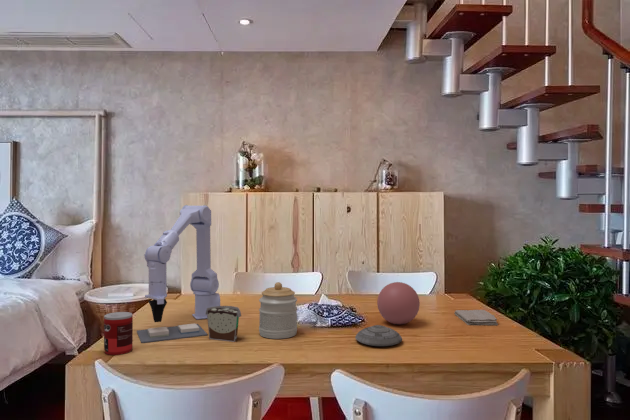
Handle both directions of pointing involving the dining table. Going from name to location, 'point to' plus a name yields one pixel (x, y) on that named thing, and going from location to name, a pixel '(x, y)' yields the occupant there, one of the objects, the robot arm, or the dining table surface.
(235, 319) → the food container
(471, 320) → the washcloth
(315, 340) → the dining table surface
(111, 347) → the canned food
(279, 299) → the jar
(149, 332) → the tile sage
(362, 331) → the flying saucer
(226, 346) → the dining table surface
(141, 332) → the mat
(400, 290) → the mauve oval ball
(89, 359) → the dining table surface
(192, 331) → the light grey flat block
